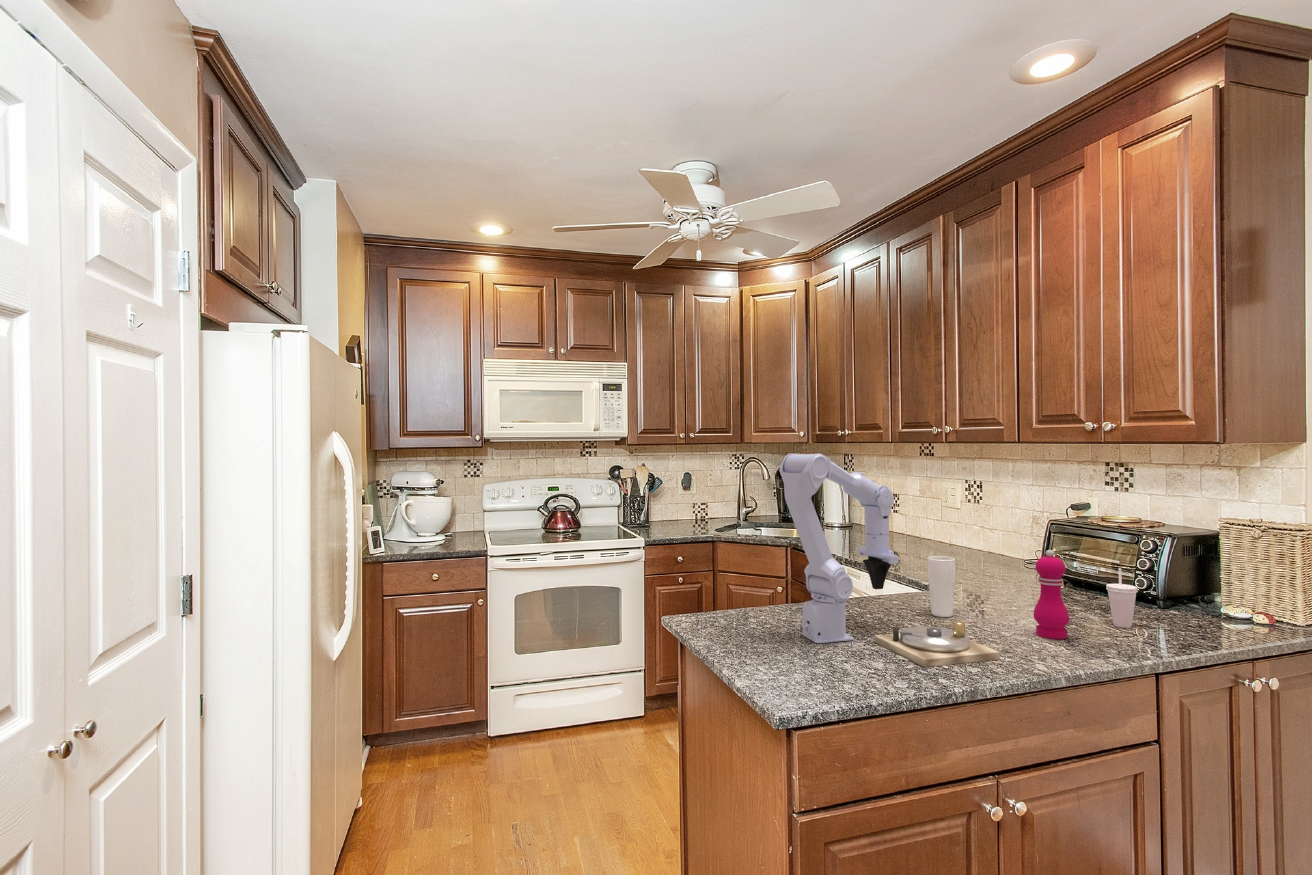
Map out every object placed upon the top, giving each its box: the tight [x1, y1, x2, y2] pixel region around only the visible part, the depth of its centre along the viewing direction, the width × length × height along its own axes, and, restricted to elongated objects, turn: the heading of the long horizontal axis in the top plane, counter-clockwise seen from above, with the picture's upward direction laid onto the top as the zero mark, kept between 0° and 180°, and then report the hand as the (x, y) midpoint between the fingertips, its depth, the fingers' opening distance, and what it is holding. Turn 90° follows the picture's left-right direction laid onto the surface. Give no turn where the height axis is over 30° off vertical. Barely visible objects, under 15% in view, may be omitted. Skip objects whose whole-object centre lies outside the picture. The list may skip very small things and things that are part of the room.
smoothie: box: [1105, 567, 1139, 629], centre depth 162 cm, size 6×6×14 cm
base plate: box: [874, 626, 1001, 668], centre depth 145 cm, size 18×18×4 cm
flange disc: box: [899, 620, 971, 652], centre depth 145 cm, size 14×14×4 cm
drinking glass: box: [926, 555, 956, 618], centre depth 174 cm, size 7×7×15 cm
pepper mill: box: [1033, 549, 1070, 640], centre depth 155 cm, size 7×7×20 cm
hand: (877, 588), depth 164 cm, fingers closed
